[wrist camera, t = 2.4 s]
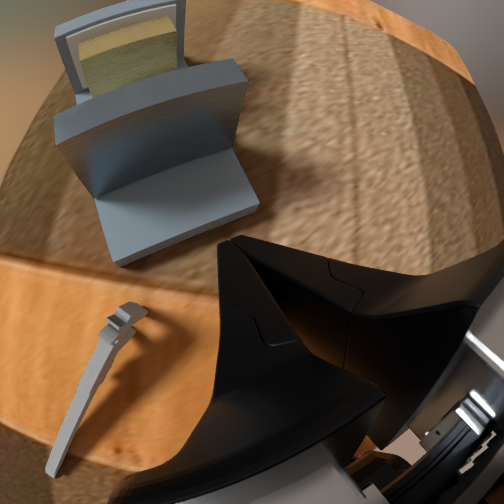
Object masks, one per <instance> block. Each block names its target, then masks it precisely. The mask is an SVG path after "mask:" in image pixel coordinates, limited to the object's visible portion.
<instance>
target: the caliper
mask: <svg viewBox="0 0 504 504" xmlns="http://www.w3.org/2000/svg"><path fill="white" fill-rule="evenodd" d="M147 313H148V311H147V310H146V309H144V308H143V307H141V306H140V305H139V304H137V303H134V302H128V303H126V304H124V305H121V306H119V307H118V308H117V310H116V312H115V314H114V315H112V316H109V317H107V318H106V321H107V322H108V323H109V324H108V325H107V326H105V327H104V328H103V329H102V330H101V331H100V332H99V333H98V336H99V337H101V339H100V341H99V343H98V345H97V347H96V349H95V351H94V353H93V355H92V357H91V359H90V361H89V363H88V365H87V367H86V369H85V371H84V373H83V375H82V377H81V379H80V382H79V384H78V390H77V392H76V394H75V396H74V398H73V400H72V403H71V405H70V407H69V409H68V412H67V414H66V416H65V419H64V421H63V423H62V426H61V428H60V431H59V433H58V436H57V438H56V441H55V443H54V446H53V448H52V451H51V454H50V457H49V459H48V462H47V465H46V468H45V470H46V473H47V474H49V475H50V476H51V477H53V478H55V476H56V474H57V472H58V470H59V468H60V466H61V464H62V462H63V460H64V458H65V455H66V453H67V451H68V448H69V446H70V444H71V442H72V440H73V437H74V435H75V433H76V431H77V429H78V427H79V425H80V422H81V420H82V418H83V416H84V414H85V412H86V410H87V408H88V406H89V404H90V402H91V400H92V398H93V396H94V394H95V392H96V390H97V388H98V386H99V385H100V384H101V383H102V382H103V381H104V379H105V377H106V375H107V373H108V371H109V369H110V368H111V366H112V363H113V361H114V358H115V356H116V354H117V353H118V351H119V350H120V349H121V348H122V347H123V346H124V345H125V344H126V343H127V342H128V341H129V340H130V339H131V338H132V337H133V336H134V334H135V333H136V331H137V329H135V328H134V327H132V325H133V324H135V323H136V322H138V321H139V320H141V319H142V318H144V317H146V315H147Z"/></svg>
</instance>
